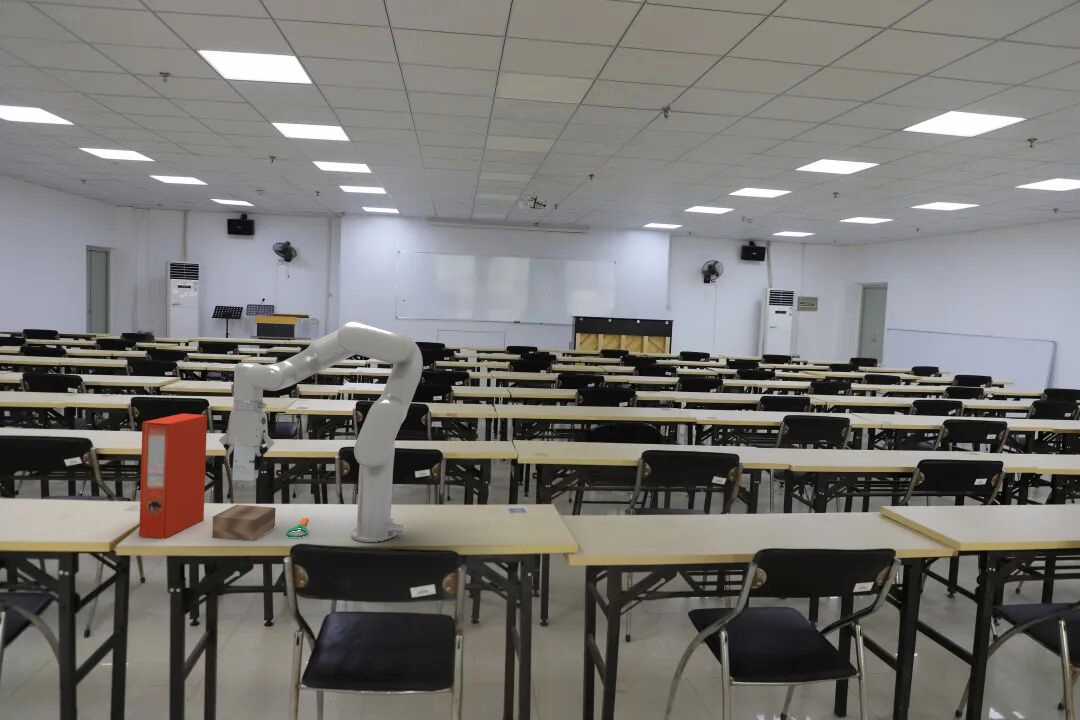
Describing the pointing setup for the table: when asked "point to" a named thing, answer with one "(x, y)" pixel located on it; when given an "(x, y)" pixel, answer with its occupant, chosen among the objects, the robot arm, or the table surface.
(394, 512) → the table surface
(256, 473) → the skincare box
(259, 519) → the walnut block
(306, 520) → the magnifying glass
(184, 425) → the file binder
